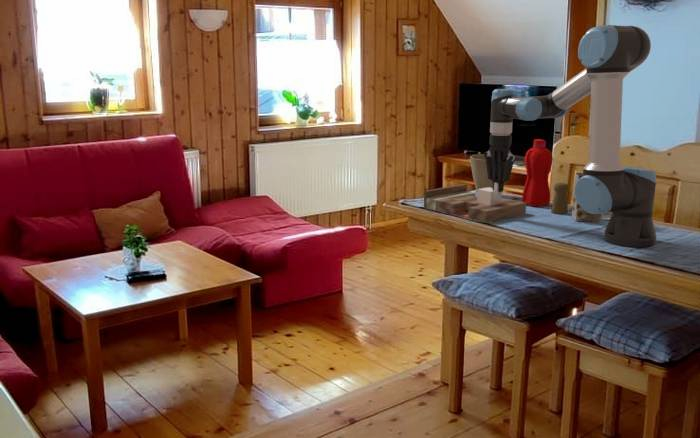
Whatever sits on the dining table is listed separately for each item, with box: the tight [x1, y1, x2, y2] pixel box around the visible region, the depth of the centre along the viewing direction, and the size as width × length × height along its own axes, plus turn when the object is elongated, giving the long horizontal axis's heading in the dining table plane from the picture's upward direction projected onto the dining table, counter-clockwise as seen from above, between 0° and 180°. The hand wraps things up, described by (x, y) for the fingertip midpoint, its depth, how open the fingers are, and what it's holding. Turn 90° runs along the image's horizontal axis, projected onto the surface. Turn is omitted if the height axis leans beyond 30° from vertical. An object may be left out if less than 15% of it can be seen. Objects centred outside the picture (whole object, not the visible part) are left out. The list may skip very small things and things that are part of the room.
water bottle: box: [521, 138, 554, 208], centre depth 270 cm, size 9×11×25 cm
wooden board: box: [423, 183, 527, 224], centre depth 262 cm, size 30×22×6 cm
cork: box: [550, 182, 570, 216], centre depth 258 cm, size 6×6×11 cm
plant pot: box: [469, 153, 508, 194], centre depth 286 cm, size 15×15×16 cm
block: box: [476, 187, 501, 206], centre depth 256 cm, size 6×6×5 cm
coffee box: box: [571, 172, 603, 223], centre depth 247 cm, size 9×6×16 cm
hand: (497, 200), depth 253 cm, fingers closed
